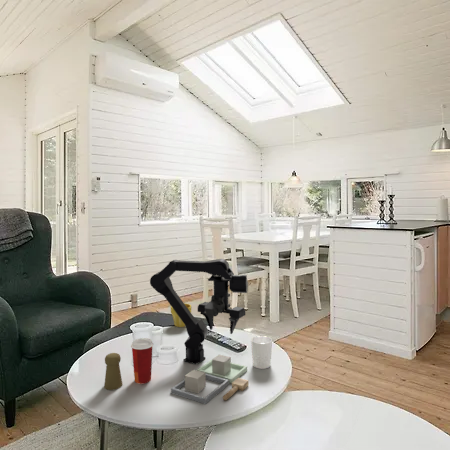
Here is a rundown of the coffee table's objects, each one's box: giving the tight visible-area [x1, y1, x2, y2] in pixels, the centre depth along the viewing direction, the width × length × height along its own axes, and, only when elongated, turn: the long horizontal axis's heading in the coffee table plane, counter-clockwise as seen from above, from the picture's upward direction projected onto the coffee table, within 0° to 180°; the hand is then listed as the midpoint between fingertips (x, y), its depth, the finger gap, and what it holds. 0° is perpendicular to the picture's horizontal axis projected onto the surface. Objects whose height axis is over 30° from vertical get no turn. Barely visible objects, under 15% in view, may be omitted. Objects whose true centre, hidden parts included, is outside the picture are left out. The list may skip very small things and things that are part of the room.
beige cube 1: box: [211, 354, 232, 376], centre depth 141 cm, size 5×5×5 cm
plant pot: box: [170, 302, 192, 328], centre depth 193 cm, size 10×10×10 cm
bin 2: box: [196, 359, 248, 384], centre depth 141 cm, size 15×12×2 cm
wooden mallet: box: [222, 377, 249, 401], centre depth 126 cm, size 13×4×2 cm, turn 149°
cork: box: [103, 352, 123, 391], centre depth 131 cm, size 6×6×11 cm
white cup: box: [250, 335, 273, 370], centre depth 147 cm, size 8×8×10 cm
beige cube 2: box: [184, 369, 207, 394], centre depth 129 cm, size 5×5×5 cm
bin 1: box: [170, 374, 230, 405], centre depth 129 cm, size 14×15×2 cm
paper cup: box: [130, 337, 154, 385], centre depth 135 cm, size 8×8×14 cm
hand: (221, 331), depth 149 cm, fingers open, 9 cm apart
